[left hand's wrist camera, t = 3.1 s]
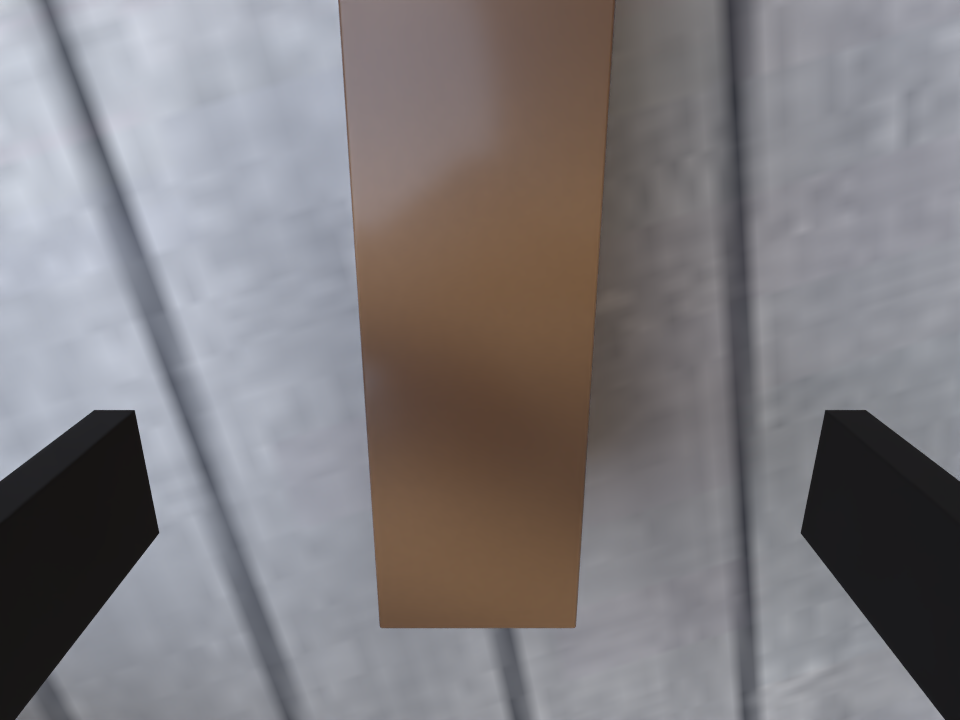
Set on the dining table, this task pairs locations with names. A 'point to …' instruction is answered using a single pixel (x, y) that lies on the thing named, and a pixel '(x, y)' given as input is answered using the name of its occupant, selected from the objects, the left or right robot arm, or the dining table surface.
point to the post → (477, 295)
